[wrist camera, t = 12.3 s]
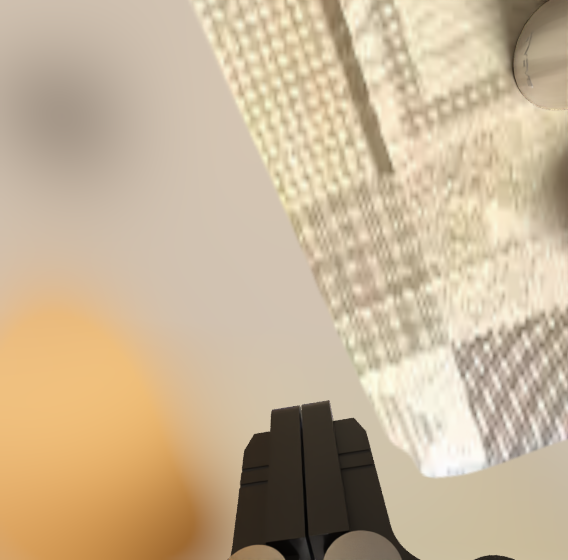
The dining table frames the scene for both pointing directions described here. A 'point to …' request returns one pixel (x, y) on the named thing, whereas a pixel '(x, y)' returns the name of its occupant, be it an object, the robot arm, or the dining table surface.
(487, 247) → the dining table surface
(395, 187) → the dining table surface
